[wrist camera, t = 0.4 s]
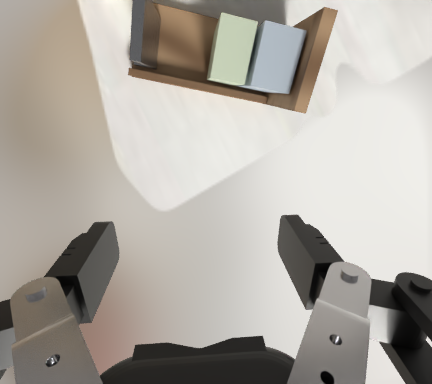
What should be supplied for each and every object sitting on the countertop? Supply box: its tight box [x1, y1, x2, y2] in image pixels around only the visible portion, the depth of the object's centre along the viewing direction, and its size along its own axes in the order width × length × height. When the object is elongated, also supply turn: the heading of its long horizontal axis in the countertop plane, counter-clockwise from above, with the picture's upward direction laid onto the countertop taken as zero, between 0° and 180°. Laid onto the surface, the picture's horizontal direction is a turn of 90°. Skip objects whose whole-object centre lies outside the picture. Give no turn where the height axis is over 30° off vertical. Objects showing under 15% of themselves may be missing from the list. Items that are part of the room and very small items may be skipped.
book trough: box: [128, 3, 338, 113], centre depth 27 cm, size 8×19×13 cm, turn 79°
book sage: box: [207, 12, 258, 85], centre depth 28 cm, size 6×4×9 cm, turn 169°
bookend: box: [130, 0, 161, 69], centre depth 26 cm, size 6×3×10 cm, turn 169°
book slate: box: [236, 20, 307, 94], centre depth 28 cm, size 6×4×10 cm
